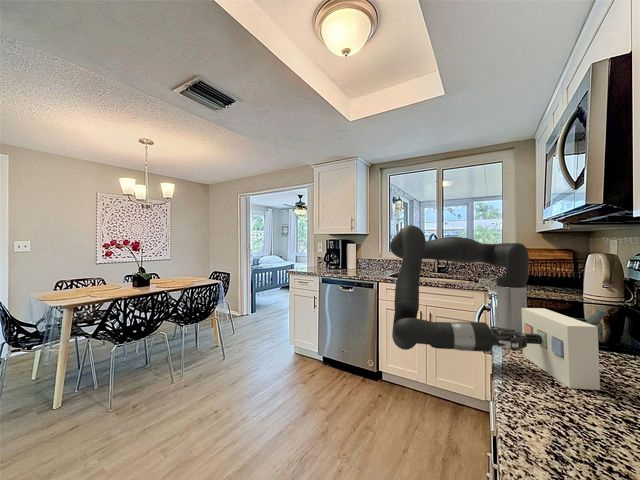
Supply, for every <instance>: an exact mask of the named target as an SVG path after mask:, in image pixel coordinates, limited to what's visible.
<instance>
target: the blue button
mask: <svg viewBox="0 0 640 480" xmlns="http://www.w3.org/2000/svg"><path fill="white" fill-rule="evenodd" d="M551 343H552V352H554V353H556V354H557V355H559V356H564V344H563V341H561V340H559V339H557V338H551Z"/></svg>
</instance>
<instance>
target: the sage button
mask: <svg viewBox="0 0 640 480" xmlns="http://www.w3.org/2000/svg"><path fill="white" fill-rule="evenodd" d="M537 334H538V335H540V336H541V344H540V345H542V346H543V347H547V333H545V332H543V331H537Z"/></svg>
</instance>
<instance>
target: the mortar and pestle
mask: <svg viewBox="0 0 640 480" xmlns="http://www.w3.org/2000/svg"><path fill="white" fill-rule="evenodd" d="M608 314H609V312H608V311H607V310H605V309H604V308H602V307H597V308H595V311H594V312H593V313H592V315H590V317H588V318H587V319H586V318H577V317H573V318H574V319H576V320H579V321H582V322H585V323H588V324H591V325H594V326H597V327H598V338H599V337H600V336H601V334H602V333H603V323H601V321H602V320H603V319H604V317H605V316H607V315H608Z"/></svg>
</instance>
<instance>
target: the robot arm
mask: <svg viewBox="0 0 640 480" xmlns="http://www.w3.org/2000/svg"><path fill="white" fill-rule="evenodd" d="M389 248H390V251H391V253H392V254H393V255H394V256H396V257H398V258H400V259H402V263H401V265H400V266H401V267H400V270H399V272H398V276H397V279H396V283H395V288H394V304H393V305H394V314H393V315H394V316H393V324H392V332H391V333H392V334H391V335H392V336H391V337H392V341H393V343H394V344H395V346H396V347H398V348H399V349H401V350H405V351H406V350H411V349H413V348H414V347H415V346H416V345H417V344H419V345H426V346H427V345H429V346H430V347H431V348H434V349H440V350H456V351H460V352H461V351H462V352H465V351H466V352H481V353H483V352H484V353H485V352H486V353H488V352H490V351H491V350H492V348H493V346H497V347H498V348H505V347H510V350H511V351H519V350H523V348H525V347H527V344H541V336H540V335H538V334H528V333H522V308H528V301H527V299H528V297H527V282H528V280H529V269H530V268H529V265H530V255H529V251H528V248H527V247H526V246H525V245H524V244H523V243H520V242H504V243H503V242H502V243H482V242H479V241H477V240H475V239H472V238H468V237H462V236H444V237H441V238H434V239H429V240H426V235H425V233H424V231H423V230H422V229H421V228H420V227H418V226H417V225H412V224H409V225H406V226H404V227H403V228H402V229H400V230H399V232H397V233H396V235H395V236H393V238H392V240H391V241H390V244H389ZM423 260H432V261H442V262H443V261H444V262H449V263H450V262H451V263H460V264H475V263H476V264H477V263H484V264H487V265H492V266H496V267H499V268H505V269H506V270H505V273H504V274H503V275H502V276H499V277H497V278H496V279H495V280H496V282H495V284H496V285H495V286H496V304H495V305H494V326H493V325H491V326H489V324H487V323H486V322H483V321H481V322H480V321H450V322H448V321H447V322H446V321H431V320H427V319H421V318H418V313H419V308H420V279H421V278H420V277H421V269H422V264H423V262H422V261H423Z"/></svg>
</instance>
